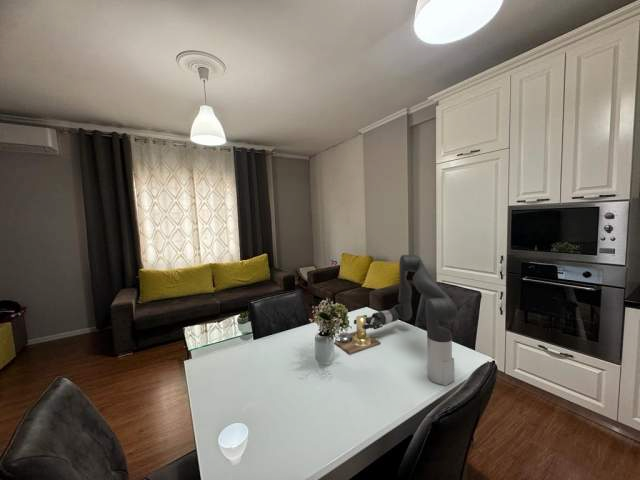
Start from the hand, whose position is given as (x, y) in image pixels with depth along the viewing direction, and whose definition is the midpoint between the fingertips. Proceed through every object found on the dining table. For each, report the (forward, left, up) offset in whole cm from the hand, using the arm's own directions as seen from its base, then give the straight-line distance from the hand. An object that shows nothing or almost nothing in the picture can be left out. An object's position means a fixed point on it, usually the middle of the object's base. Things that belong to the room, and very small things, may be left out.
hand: (359, 324), depth 137 cm
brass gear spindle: (0, -1, -9) cm, 9 cm away
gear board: (+3, +1, -11) cm, 11 cm away
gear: (+7, +5, -10) cm, 13 cm away
